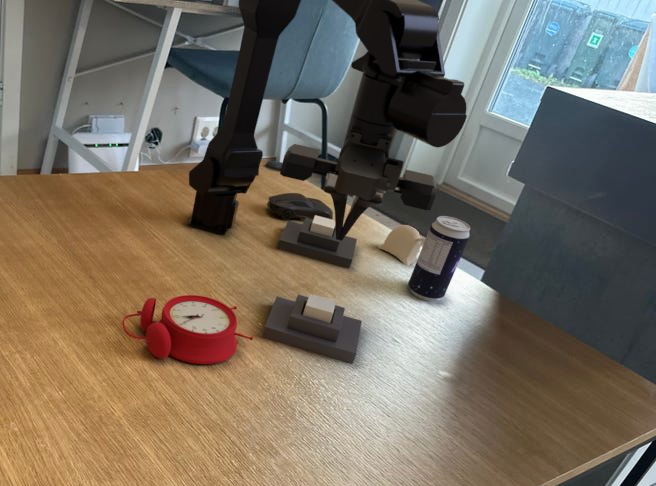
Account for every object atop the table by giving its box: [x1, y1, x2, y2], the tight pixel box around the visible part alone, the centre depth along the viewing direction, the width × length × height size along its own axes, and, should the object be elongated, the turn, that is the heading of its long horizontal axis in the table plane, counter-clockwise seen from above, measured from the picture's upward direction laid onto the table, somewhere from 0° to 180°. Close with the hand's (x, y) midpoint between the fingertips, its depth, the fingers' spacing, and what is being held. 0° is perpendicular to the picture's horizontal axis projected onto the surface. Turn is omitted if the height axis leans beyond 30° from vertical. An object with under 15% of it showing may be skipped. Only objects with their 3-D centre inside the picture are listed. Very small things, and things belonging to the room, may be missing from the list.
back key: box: [310, 215, 335, 237], centre depth 115 cm, size 4×4×2 cm
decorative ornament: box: [377, 224, 426, 266], centre depth 118 cm, size 4×8×5 cm, turn 32°
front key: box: [303, 293, 337, 323], centre depth 92 cm, size 4×4×2 cm
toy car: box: [266, 192, 334, 222], centre depth 127 cm, size 6×12×4 cm, turn 99°
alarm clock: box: [121, 294, 254, 365], centre depth 86 cm, size 10×6×15 cm
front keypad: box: [261, 294, 363, 365], centre depth 93 cm, size 12×9×4 cm
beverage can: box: [407, 215, 471, 302], centre depth 106 cm, size 6×6×12 cm
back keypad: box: [276, 218, 358, 270], centre depth 116 cm, size 12×9×4 cm
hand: (339, 239), depth 92 cm, fingers closed
